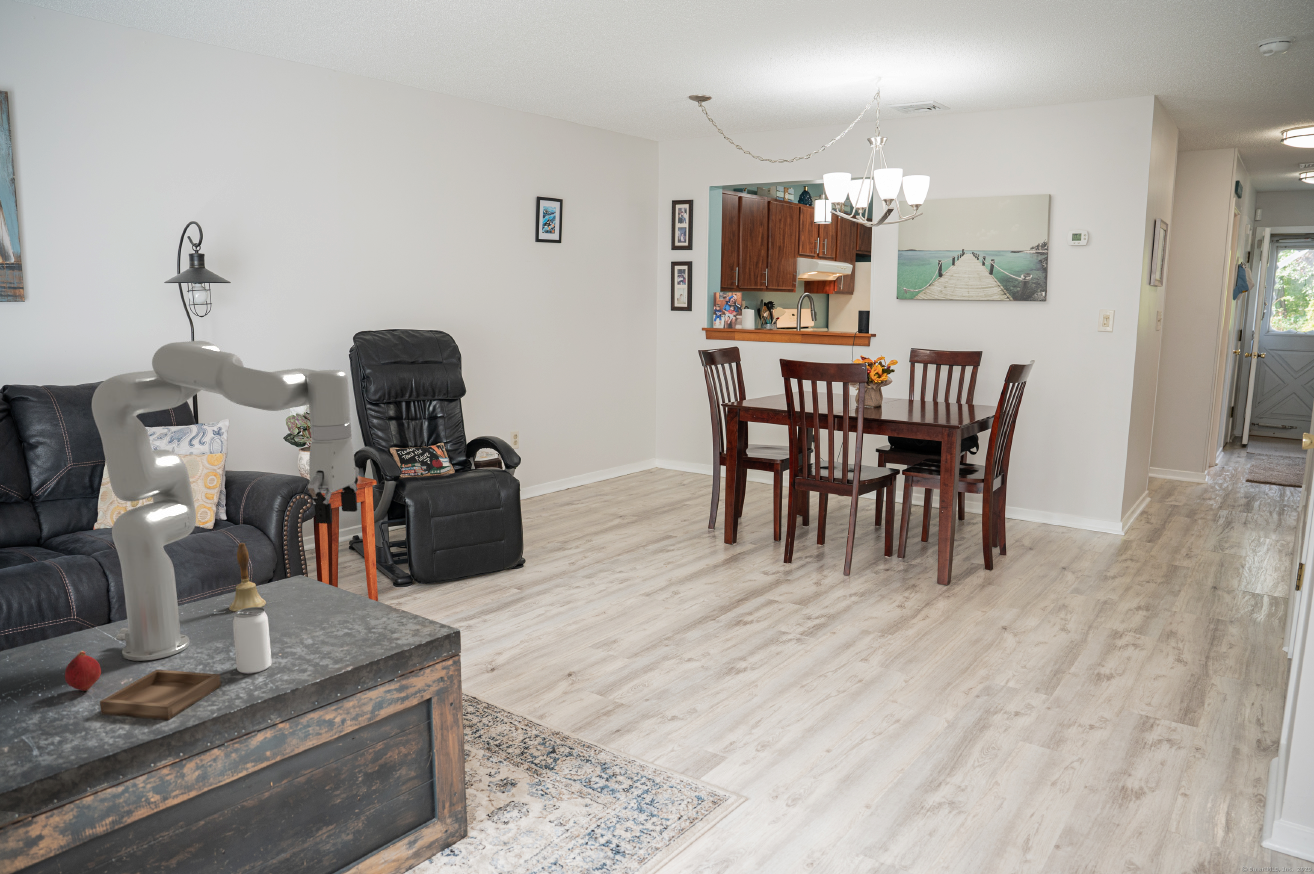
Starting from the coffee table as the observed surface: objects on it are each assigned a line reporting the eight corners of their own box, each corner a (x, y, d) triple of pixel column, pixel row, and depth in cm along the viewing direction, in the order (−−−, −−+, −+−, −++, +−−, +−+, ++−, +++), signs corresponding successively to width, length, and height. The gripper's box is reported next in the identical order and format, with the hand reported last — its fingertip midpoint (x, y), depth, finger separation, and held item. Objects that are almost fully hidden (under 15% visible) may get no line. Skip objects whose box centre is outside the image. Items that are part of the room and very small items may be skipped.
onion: (76, 699, 166) (71, 659, 164) (61, 693, 169) (56, 653, 167) (108, 688, 170) (104, 649, 169) (93, 681, 173) (89, 643, 172)
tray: (101, 713, 160) (99, 701, 159) (157, 681, 173) (156, 669, 173) (168, 719, 157) (167, 706, 157) (220, 686, 171) (219, 674, 170)
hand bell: (221, 611, 213) (215, 547, 210) (242, 599, 221) (237, 538, 218) (252, 612, 211) (247, 548, 209) (273, 601, 219) (268, 539, 217)
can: (258, 675, 176) (253, 618, 174) (230, 673, 177) (224, 616, 175) (278, 662, 182) (273, 607, 180) (250, 660, 183) (246, 605, 181)
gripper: (336, 426, 182) (342, 506, 185) (288, 439, 166) (295, 527, 168) (370, 426, 181) (375, 507, 184) (325, 440, 164) (331, 528, 167)
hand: (337, 516), depth 176 cm, fingers open, 9 cm apart
